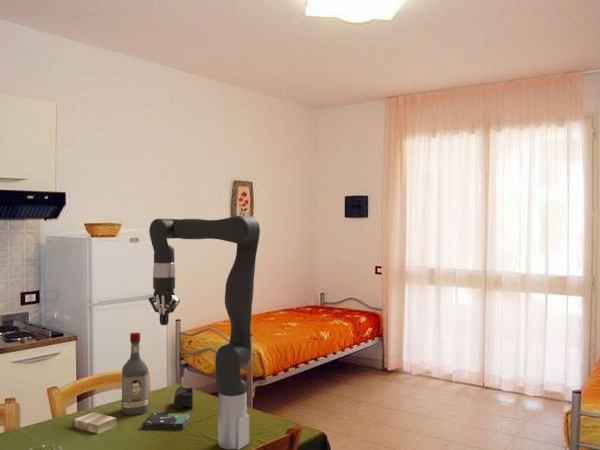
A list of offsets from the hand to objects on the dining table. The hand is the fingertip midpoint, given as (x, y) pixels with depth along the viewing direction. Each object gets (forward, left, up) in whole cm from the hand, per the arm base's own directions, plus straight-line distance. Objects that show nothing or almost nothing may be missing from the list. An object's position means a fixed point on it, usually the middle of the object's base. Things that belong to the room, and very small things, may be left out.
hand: (164, 324), depth 183 cm
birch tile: (+18, +9, -36) cm, 41 cm away
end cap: (+10, -22, -37) cm, 44 cm away
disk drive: (+3, -5, -38) cm, 38 cm away
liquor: (+23, -9, -37) cm, 45 cm away
